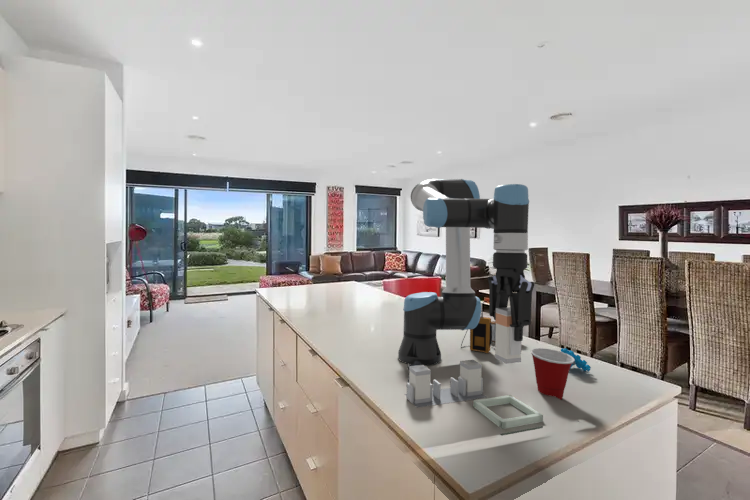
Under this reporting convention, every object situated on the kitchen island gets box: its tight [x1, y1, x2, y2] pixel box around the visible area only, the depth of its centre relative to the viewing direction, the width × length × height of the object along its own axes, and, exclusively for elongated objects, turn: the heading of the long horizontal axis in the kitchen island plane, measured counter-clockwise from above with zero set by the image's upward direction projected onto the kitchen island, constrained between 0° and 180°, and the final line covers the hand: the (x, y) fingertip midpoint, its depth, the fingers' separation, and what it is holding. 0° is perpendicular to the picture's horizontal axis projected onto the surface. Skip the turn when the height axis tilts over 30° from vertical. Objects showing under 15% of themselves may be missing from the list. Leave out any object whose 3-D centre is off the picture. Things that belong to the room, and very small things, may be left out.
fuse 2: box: [459, 359, 483, 396], centre depth 97 cm, size 4×4×8 cm
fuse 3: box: [494, 306, 522, 364], centre depth 84 cm, size 4×4×12 cm
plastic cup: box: [530, 347, 575, 401], centre depth 98 cm, size 11×11×12 cm
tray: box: [472, 394, 544, 437], centre depth 85 cm, size 11×11×3 cm
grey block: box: [408, 365, 432, 404], centre depth 92 cm, size 4×4×8 cm
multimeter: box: [460, 300, 495, 354], centre depth 141 cm, size 15×10×20 cm
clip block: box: [404, 375, 488, 408], centre depth 95 cm, size 8×21×6 cm, turn 108°
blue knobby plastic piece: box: [560, 347, 592, 372], centre depth 118 cm, size 11×6×10 cm
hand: (508, 350), depth 85 cm, fingers closed on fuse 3, 4 cm apart
